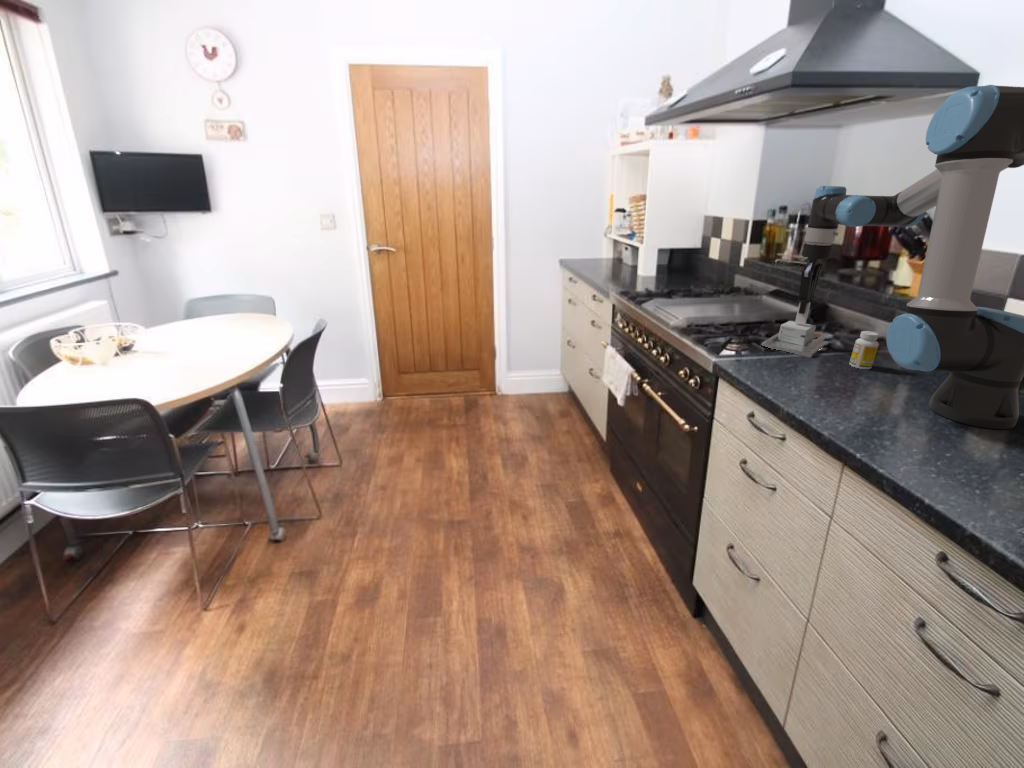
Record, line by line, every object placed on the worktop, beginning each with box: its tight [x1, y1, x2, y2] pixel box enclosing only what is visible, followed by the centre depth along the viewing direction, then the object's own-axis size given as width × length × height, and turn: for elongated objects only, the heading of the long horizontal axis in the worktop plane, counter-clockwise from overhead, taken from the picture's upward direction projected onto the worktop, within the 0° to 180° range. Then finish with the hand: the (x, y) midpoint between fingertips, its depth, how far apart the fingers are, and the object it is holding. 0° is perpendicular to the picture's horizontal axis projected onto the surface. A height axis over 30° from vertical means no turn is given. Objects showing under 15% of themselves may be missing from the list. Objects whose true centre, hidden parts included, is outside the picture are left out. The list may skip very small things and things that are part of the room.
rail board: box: [760, 332, 827, 359], centre depth 164 cm, size 20×14×2 cm
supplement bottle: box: [848, 330, 879, 370], centre depth 146 cm, size 5×5×10 cm
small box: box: [777, 320, 817, 346], centre depth 164 cm, size 8×8×5 cm
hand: (800, 323), depth 162 cm, fingers closed
